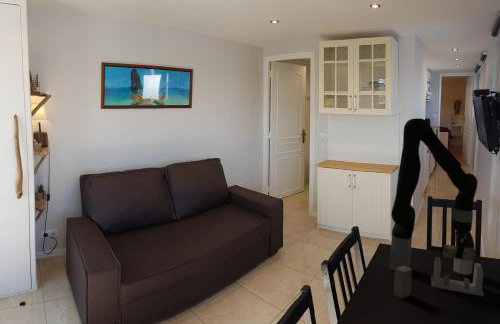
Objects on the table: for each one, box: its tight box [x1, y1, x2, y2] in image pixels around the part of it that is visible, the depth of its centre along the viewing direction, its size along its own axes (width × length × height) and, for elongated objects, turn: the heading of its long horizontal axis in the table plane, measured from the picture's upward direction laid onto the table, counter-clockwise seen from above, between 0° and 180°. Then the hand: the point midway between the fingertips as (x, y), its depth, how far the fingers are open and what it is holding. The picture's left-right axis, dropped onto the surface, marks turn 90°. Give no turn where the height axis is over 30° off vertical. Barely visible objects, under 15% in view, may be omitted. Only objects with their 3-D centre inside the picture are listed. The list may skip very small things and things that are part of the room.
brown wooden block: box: [442, 243, 477, 263], centre depth 159 cm, size 12×5×4 cm, turn 65°
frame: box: [430, 256, 485, 297], centre depth 161 cm, size 20×9×11 cm, turn 65°
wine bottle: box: [452, 231, 475, 278], centre depth 172 cm, size 8×8×30 cm
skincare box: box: [393, 265, 413, 299], centre depth 154 cm, size 6×4×12 cm
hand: (458, 255), depth 159 cm, fingers closed on brown wooden block, 5 cm apart
